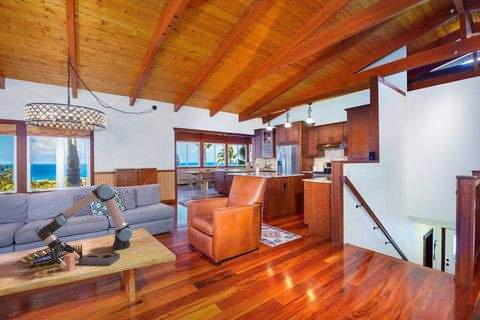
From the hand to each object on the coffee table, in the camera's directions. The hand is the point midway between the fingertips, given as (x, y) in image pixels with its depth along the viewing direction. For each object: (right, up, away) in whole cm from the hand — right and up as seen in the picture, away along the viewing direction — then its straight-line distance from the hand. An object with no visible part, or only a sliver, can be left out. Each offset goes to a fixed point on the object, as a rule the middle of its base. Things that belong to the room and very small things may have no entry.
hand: (71, 262), depth 167 cm
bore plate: (+13, -5, +13) cm, 19 cm away
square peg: (-2, -5, 0) cm, 5 cm away
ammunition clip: (-11, -6, +17) cm, 21 cm away
